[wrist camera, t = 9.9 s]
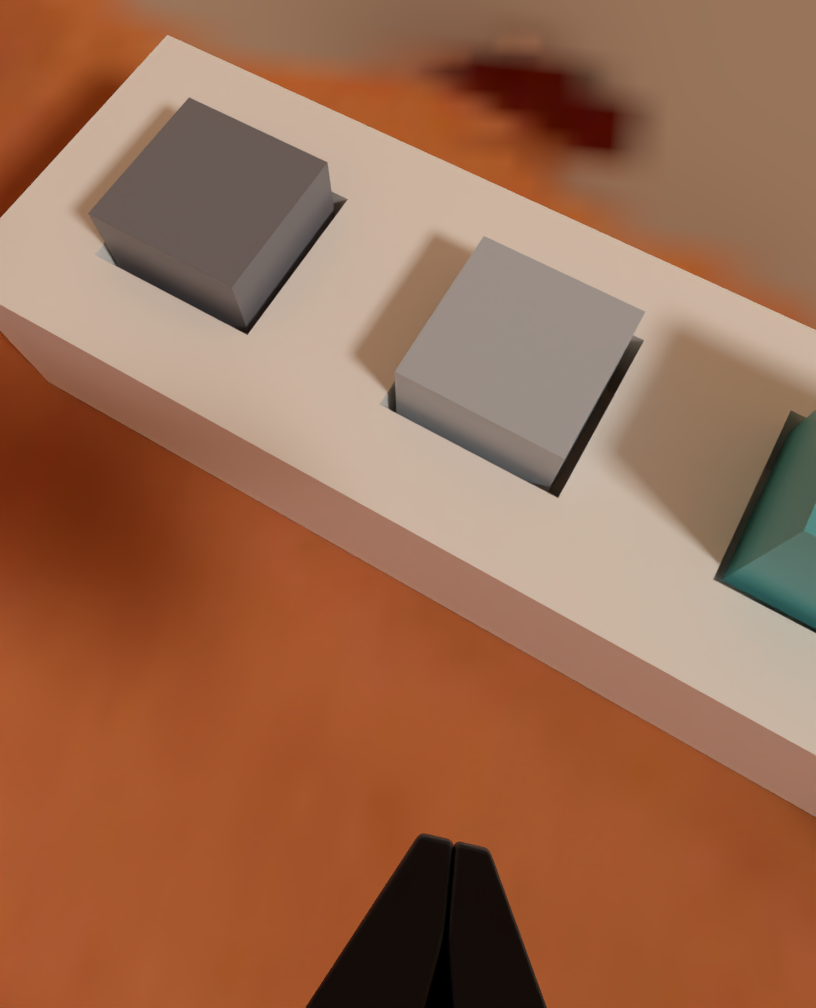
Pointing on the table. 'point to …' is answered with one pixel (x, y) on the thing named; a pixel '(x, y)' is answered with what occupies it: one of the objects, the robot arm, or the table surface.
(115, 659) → the table surface
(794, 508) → the teal key
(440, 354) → the slate key
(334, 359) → the keypad
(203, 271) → the charcoal key
